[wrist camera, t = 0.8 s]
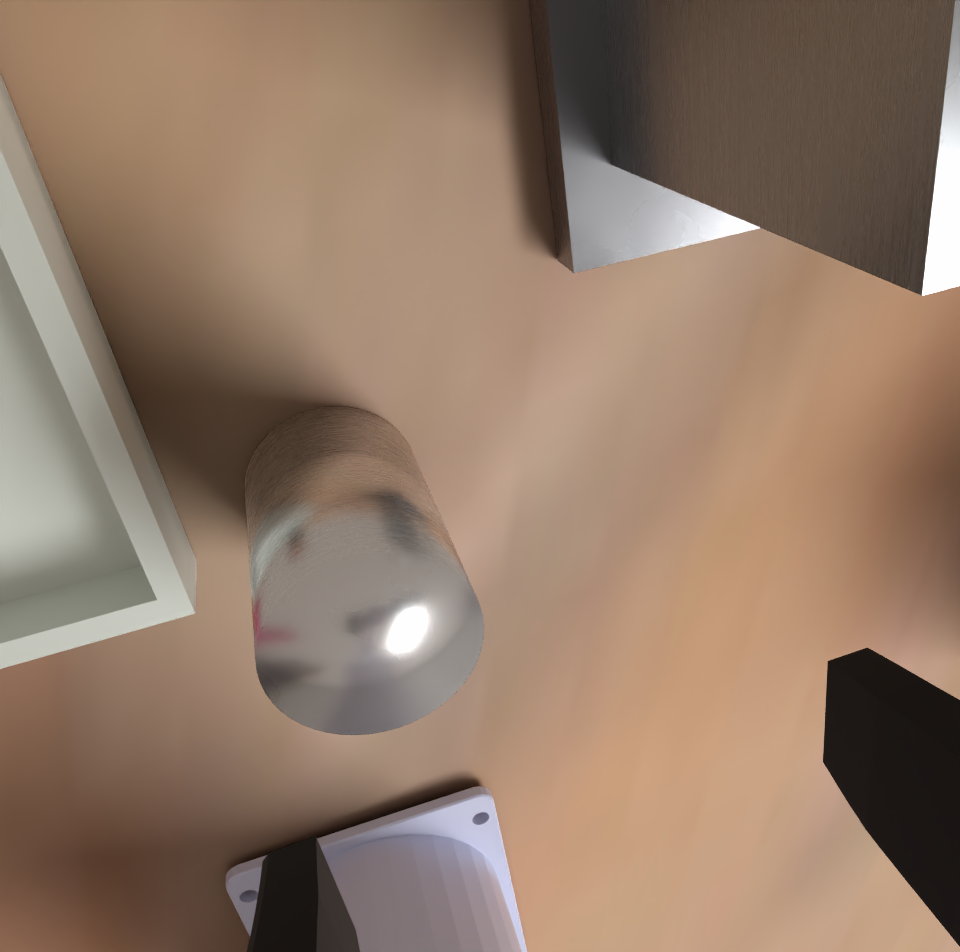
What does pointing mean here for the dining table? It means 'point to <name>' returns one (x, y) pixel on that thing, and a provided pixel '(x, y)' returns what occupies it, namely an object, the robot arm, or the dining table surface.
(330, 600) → the steel cylinder
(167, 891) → the dining table surface
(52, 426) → the parts tray
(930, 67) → the grey unit
